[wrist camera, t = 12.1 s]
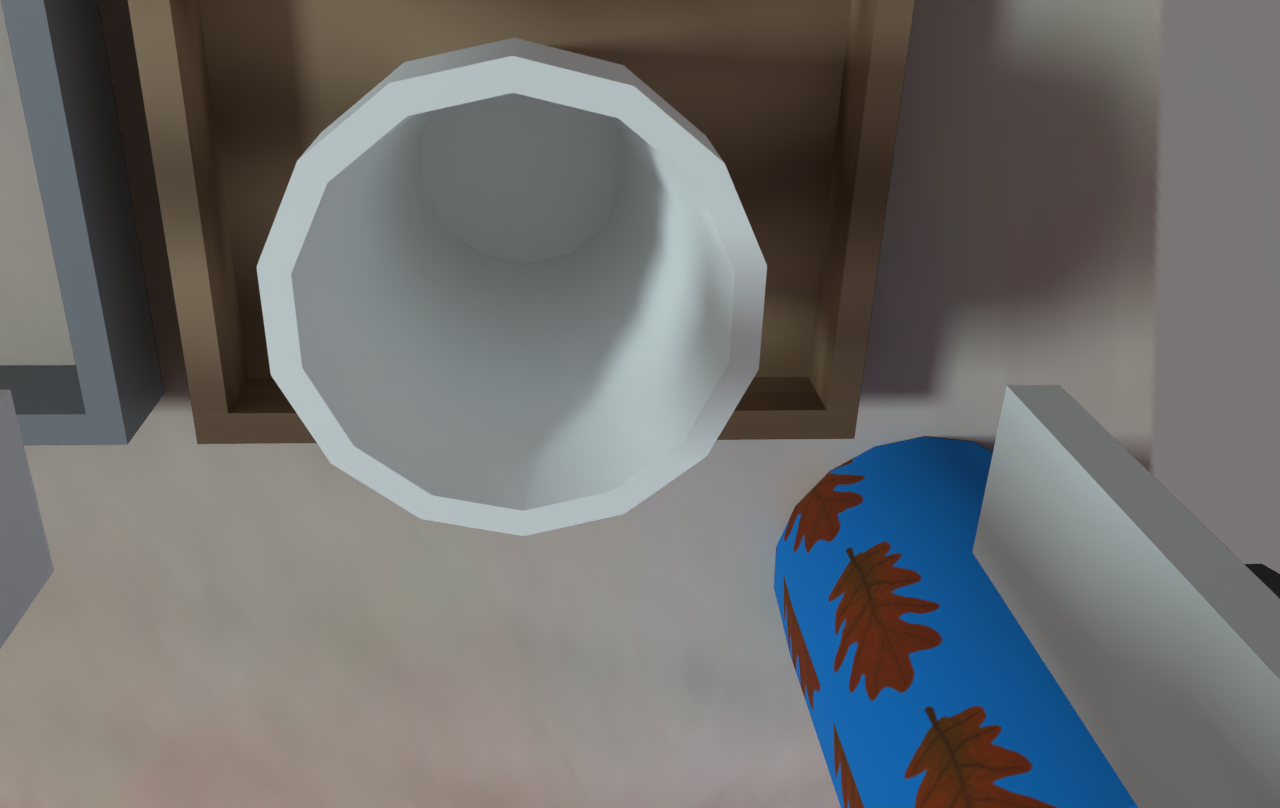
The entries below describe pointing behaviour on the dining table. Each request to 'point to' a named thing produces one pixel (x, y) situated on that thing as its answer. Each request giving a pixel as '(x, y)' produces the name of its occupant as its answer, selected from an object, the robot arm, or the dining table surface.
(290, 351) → the foam cup
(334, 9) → the bin
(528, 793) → the dining table surface
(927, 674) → the thermos
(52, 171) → the bin
